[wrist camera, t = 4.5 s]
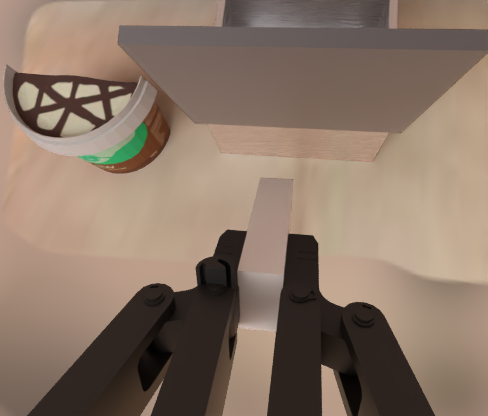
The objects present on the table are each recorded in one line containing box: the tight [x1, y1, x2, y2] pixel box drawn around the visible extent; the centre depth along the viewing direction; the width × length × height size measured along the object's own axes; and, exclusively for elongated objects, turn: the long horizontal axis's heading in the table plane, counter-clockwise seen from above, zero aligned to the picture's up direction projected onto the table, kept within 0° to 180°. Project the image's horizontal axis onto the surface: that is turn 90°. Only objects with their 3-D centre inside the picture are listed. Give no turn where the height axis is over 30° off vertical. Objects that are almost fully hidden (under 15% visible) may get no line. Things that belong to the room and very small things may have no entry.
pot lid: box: [118, 26, 488, 133], centre depth 22 cm, size 15×12×1 cm
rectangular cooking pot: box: [207, 0, 398, 161], centre depth 34 cm, size 19×12×8 cm, turn 84°
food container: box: [3, 65, 170, 173], centre depth 34 cm, size 12×6×10 cm, turn 80°
